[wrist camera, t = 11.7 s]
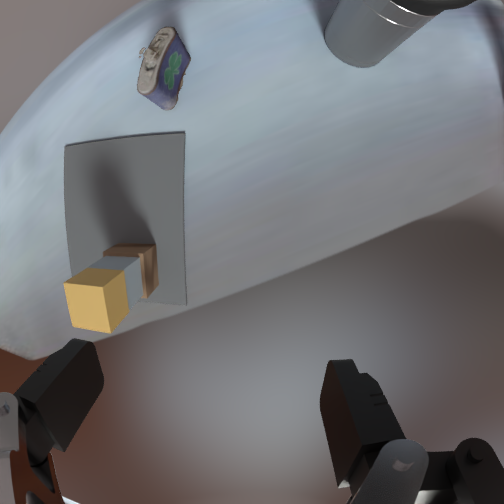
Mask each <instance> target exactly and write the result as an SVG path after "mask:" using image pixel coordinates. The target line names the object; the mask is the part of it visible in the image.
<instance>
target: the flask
mask: <svg viewBox="0 0 504 504" xmlns="http://www.w3.org/2000/svg"><path fill="white" fill-rule="evenodd" d="M145 49H146V48H142V49H141V50H140V52H139V54H142V53H143V51H144V50H145ZM143 55H144V58H143V61H142V64H141V68H140V72H139V77H138V84H137V90H138V92H139V93H140V94H142V95H143V96H145V97H146V98H148V99H149V100H151V101H152V102H154V103H155V104H157V105H158V106H159V107H161V108H162V109H163V110H171V109H173V108H174V106H175V105H176V103H177V101H178V94H179V91H180V89H181V87H182V85H183V76H184V75H186V74H185V71H186V69H187V67H188V65H189V63H190V61H191V57H190V55H189V54H188V52H187V51H186V48H185V46H184V44H183V43H182V41H181V39H180V37H179V36H178V33H177V31H176V30H175V28H174V27H164V28H162V29H160V30H159V31H158V32H157V34H156V36H155V37H154V39H153V40H152V42H151V43H150V45H149V47H148V49H147V50H146V51H145V53H144V54H143ZM139 58H141V56H139Z"/></svg>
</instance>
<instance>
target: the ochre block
mask: <svg viewBox="0 0 504 504" xmlns="http://www.w3.org/2000/svg"><path fill="white" fill-rule="evenodd" d="M64 288H65V293H66V298H67V303H68V308H69V312H70V317H71V321H72V325H73V327H78V328H83V329H88V330H94V331H100V332H106V333H112V332H113V330H114V329H115V328H116V327H117V326H118V325H119V323H120V322H121V321H122V320H123V319H124V318H125V316H126V315H127V314H128V313H129V306H128V299H127V291H126V283H125V274H124V270H112V269H98V268H86V269H85V270H83V271H81V272H80V273H78V274H77V275H75V276H73V277H72V278H70V279H69V280H67V281H66V282H64Z"/></svg>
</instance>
